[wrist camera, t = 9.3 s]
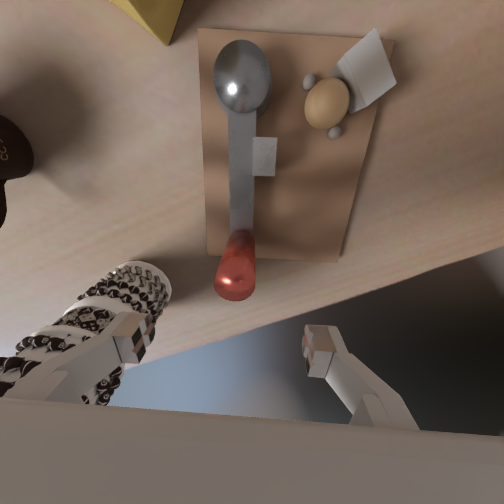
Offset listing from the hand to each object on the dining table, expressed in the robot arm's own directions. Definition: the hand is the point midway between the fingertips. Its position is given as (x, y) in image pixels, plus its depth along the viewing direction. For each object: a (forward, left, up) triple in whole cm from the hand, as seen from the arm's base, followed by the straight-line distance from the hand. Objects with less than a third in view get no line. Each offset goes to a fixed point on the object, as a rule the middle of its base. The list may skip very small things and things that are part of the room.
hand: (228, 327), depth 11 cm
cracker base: (-6, -6, -16) cm, 18 cm away
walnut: (-11, -10, -15) cm, 21 cm away
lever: (-3, -7, -14) cm, 15 cm away
